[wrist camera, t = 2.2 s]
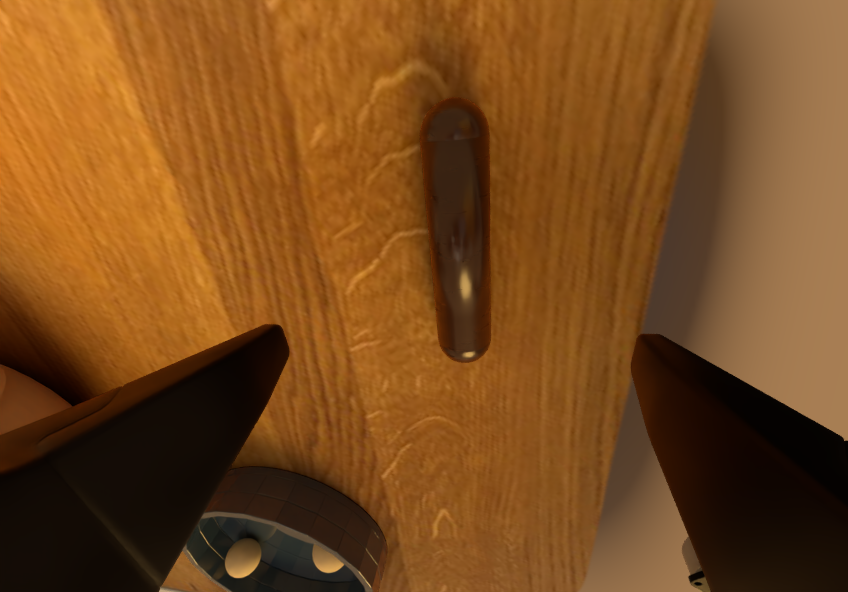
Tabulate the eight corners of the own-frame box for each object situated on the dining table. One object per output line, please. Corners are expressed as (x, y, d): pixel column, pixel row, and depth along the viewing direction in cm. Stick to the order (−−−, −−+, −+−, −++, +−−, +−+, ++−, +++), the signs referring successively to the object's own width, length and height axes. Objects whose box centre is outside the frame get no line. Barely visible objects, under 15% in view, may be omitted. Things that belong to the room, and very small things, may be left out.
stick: (493, 344, 17) (487, 377, 15) (446, 340, 18) (434, 370, 16) (492, 93, 12) (483, 93, 10) (427, 100, 13) (406, 101, 11)
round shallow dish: (422, 534, 27) (412, 587, 24) (344, 595, 36) (329, 641, 33) (231, 435, 26) (195, 479, 23) (195, 523, 34) (166, 564, 31)
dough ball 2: (361, 531, 28) (347, 572, 25) (347, 544, 29) (333, 584, 27) (329, 515, 27) (312, 555, 25) (317, 529, 29) (300, 568, 26)
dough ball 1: (271, 541, 31) (252, 578, 29) (263, 552, 33) (244, 588, 30) (242, 527, 31) (220, 563, 29) (235, 539, 33) (214, 574, 30)
